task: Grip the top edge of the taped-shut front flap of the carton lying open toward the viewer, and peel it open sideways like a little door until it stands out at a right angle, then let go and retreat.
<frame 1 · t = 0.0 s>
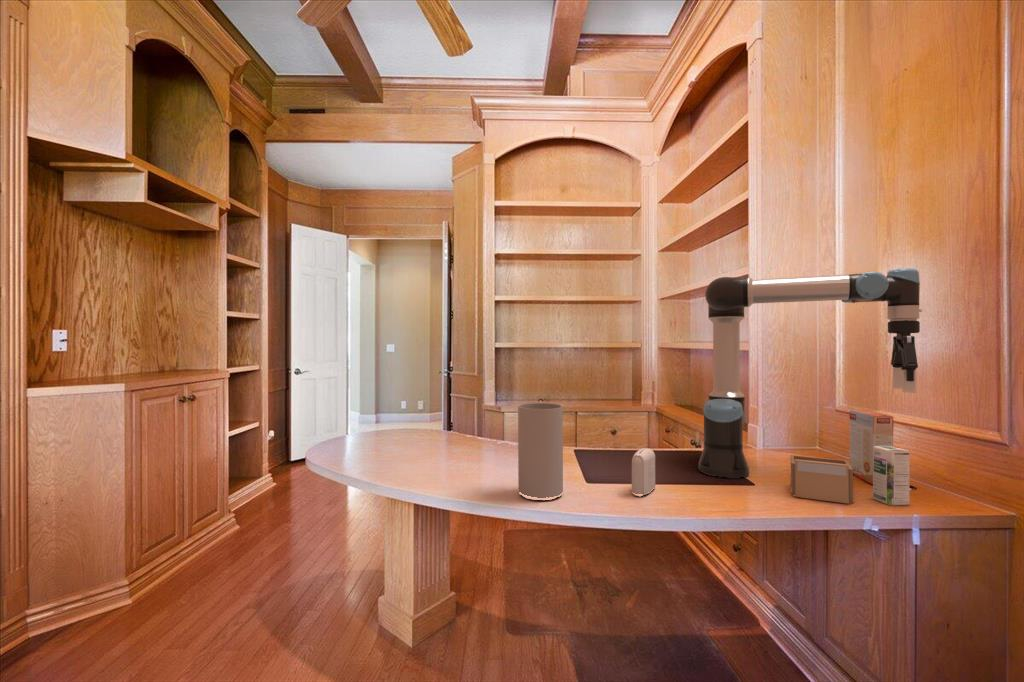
hand: (903, 390, 144), 28 cm above the table, tool pointing down, fingers open, 13 cm apart
syrup box: (890, 502, 127), on the table
carton: (820, 493, 134), on the table
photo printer: (643, 493, 136), on the table
flap: (821, 480, 128), point 5 cm above the table, hinge at 0.0°
cracker box: (870, 480, 147), on the table
cylinder vase: (540, 495, 134), on the table
puzzle toy: (822, 479, 148), on the table
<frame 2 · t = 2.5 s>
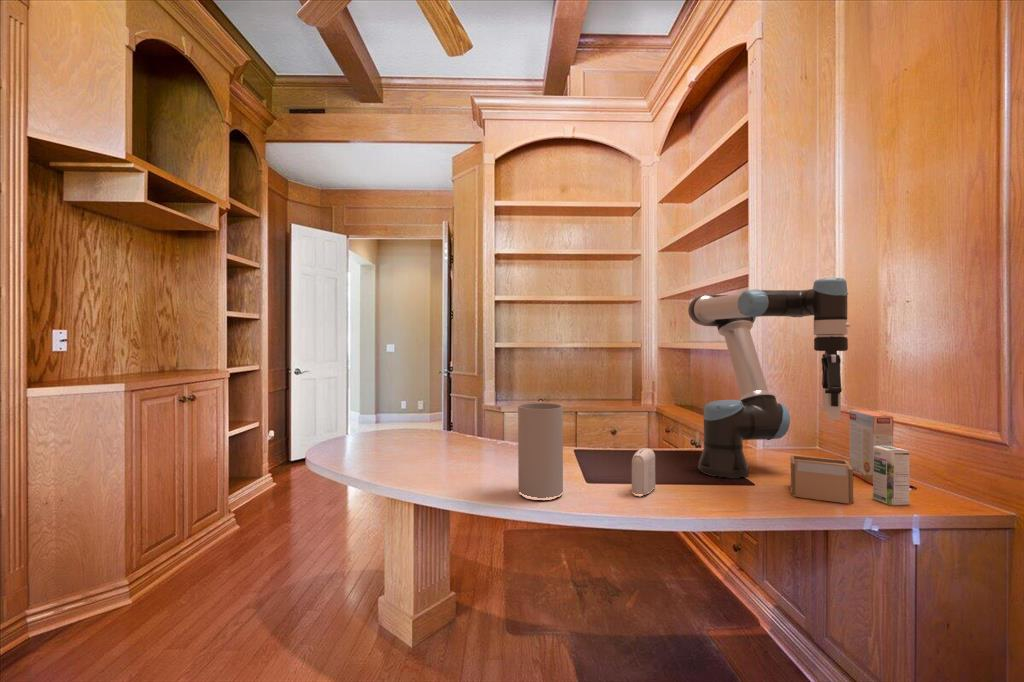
hand: (831, 415, 127), 23 cm above the table, tool pointing down, fingers open, 13 cm apart
nothing on the table moved.
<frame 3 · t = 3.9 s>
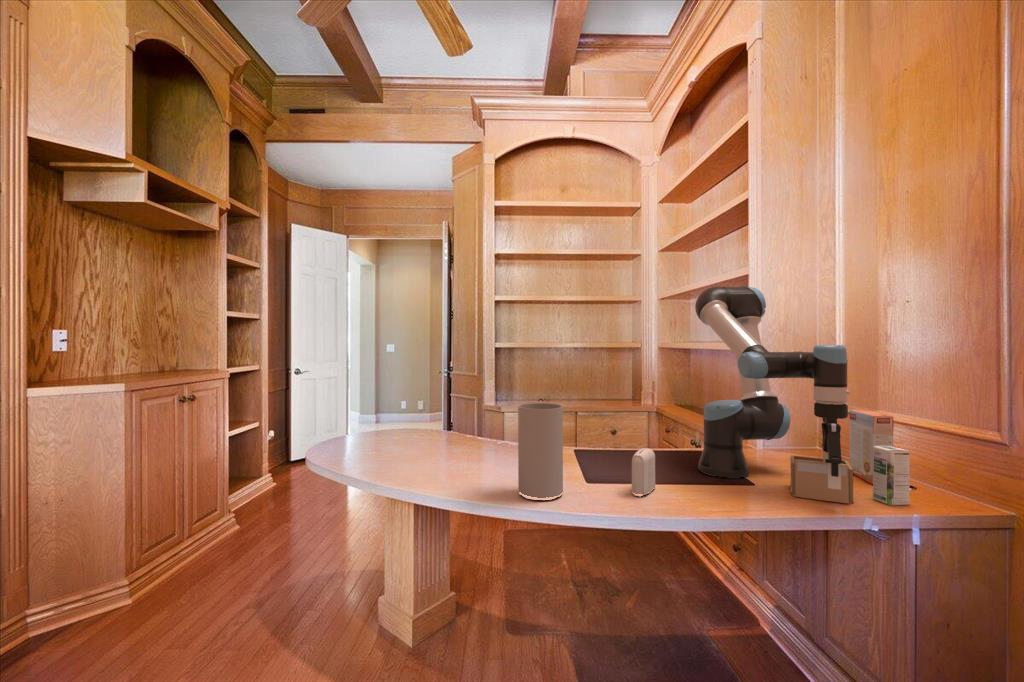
hand: (831, 482, 127), 5 cm above the table, tool pointing down, fingers open, 13 cm apart
nothing on the table moved.
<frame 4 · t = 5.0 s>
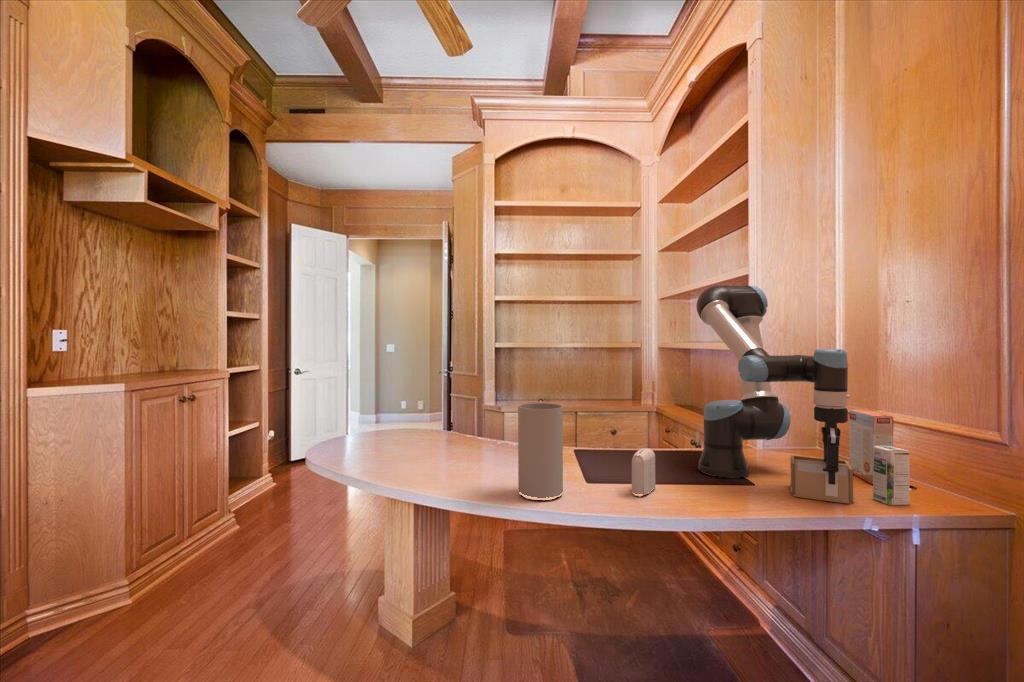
hand: (831, 494, 127), 2 cm above the table, tool pointing down, fingers closed on flap, 1 cm apart
flap: (821, 480, 128), point 5 cm above the table, hinge at 0.0°, touching gripper
everything else where it was.
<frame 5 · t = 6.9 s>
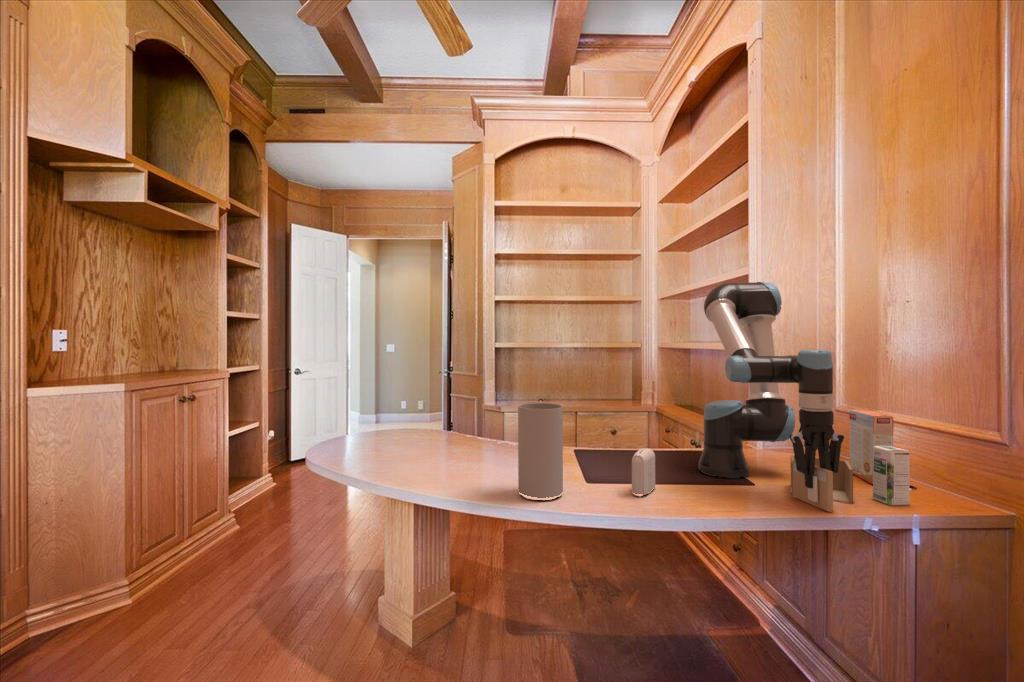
hand: (817, 499, 123), 2 cm above the table, tool pointing down, fingers open, 2 cm apart
flap: (811, 484, 125), point 5 cm above the table, hinge at 52.4°, touching gripper
everything else where it was.
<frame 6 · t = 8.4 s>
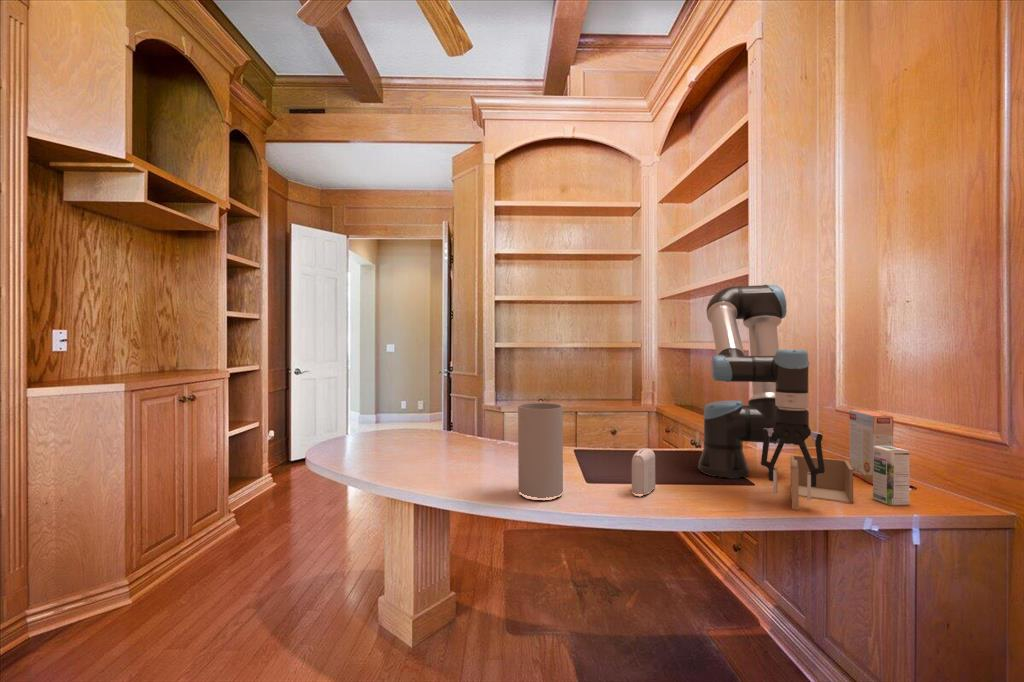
hand: (792, 495, 124), 3 cm above the table, tool pointing down, fingers open, 7 cm apart
flap: (794, 483, 126), point 5 cm above the table, hinge at 90.6°
everything else where it was.
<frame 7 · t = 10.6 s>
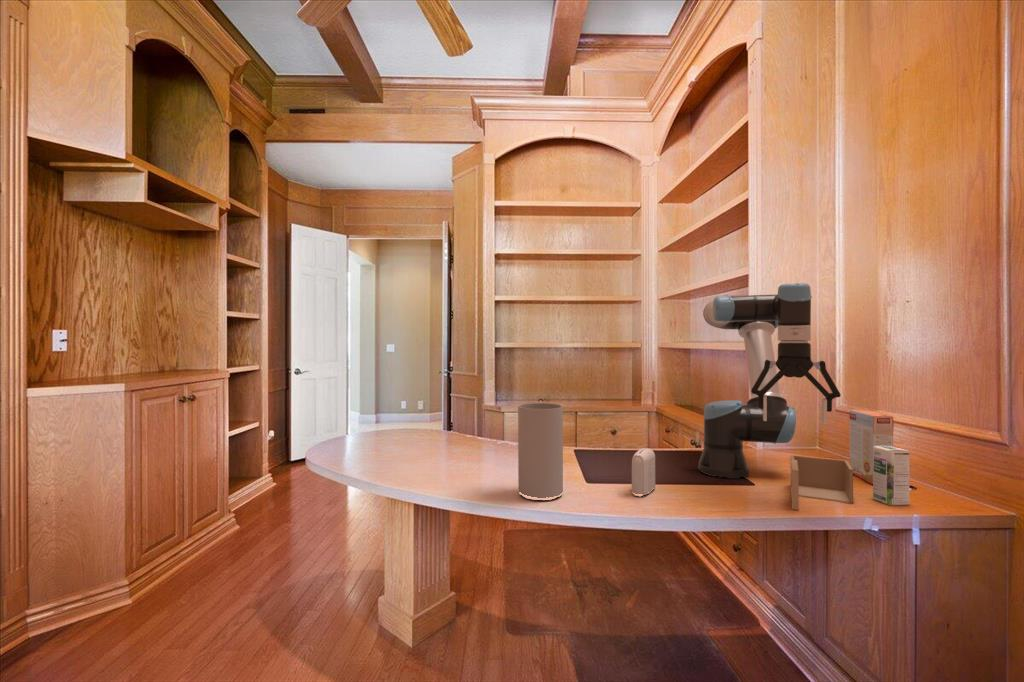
hand: (793, 422, 126), 22 cm above the table, tool pointing down, fingers open, 13 cm apart
nothing on the table moved.
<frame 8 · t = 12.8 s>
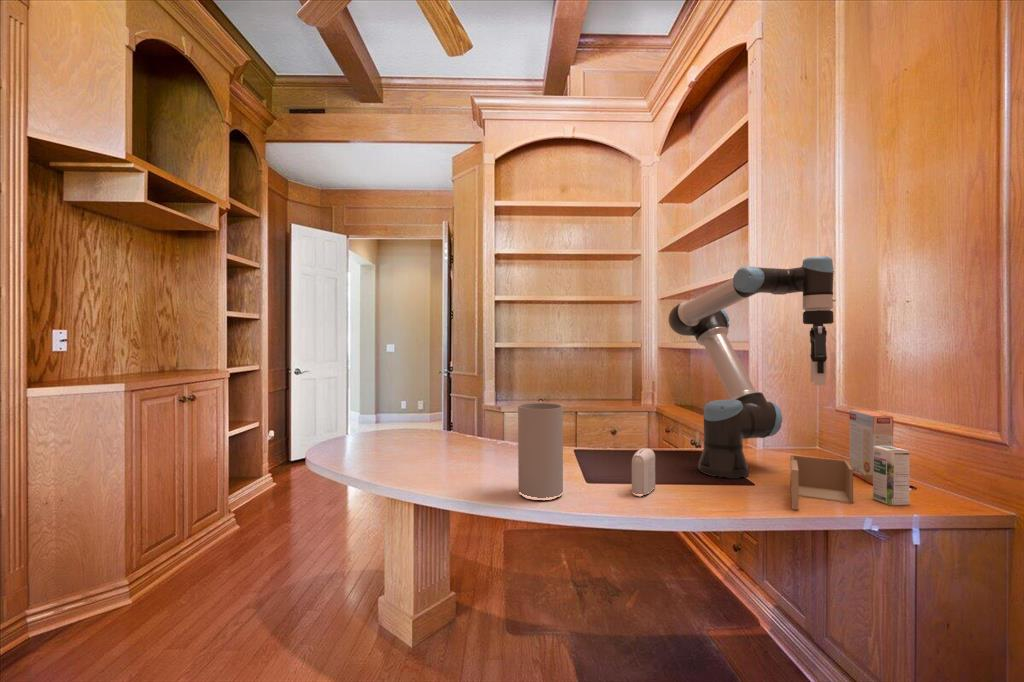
hand: (818, 383, 138), 31 cm above the table, tool pointing down, fingers open, 13 cm apart
nothing on the table moved.
at the end: flap at +91° (first picture: +0°); the gripper is holding nothing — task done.
